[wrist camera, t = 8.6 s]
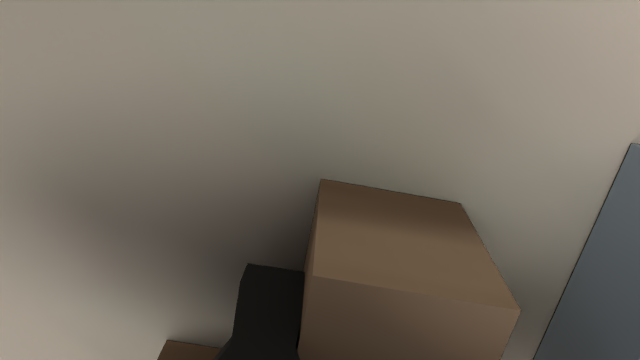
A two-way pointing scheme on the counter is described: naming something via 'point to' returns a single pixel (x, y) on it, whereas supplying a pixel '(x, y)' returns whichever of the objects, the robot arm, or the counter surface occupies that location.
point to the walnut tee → (393, 283)
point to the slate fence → (604, 282)
